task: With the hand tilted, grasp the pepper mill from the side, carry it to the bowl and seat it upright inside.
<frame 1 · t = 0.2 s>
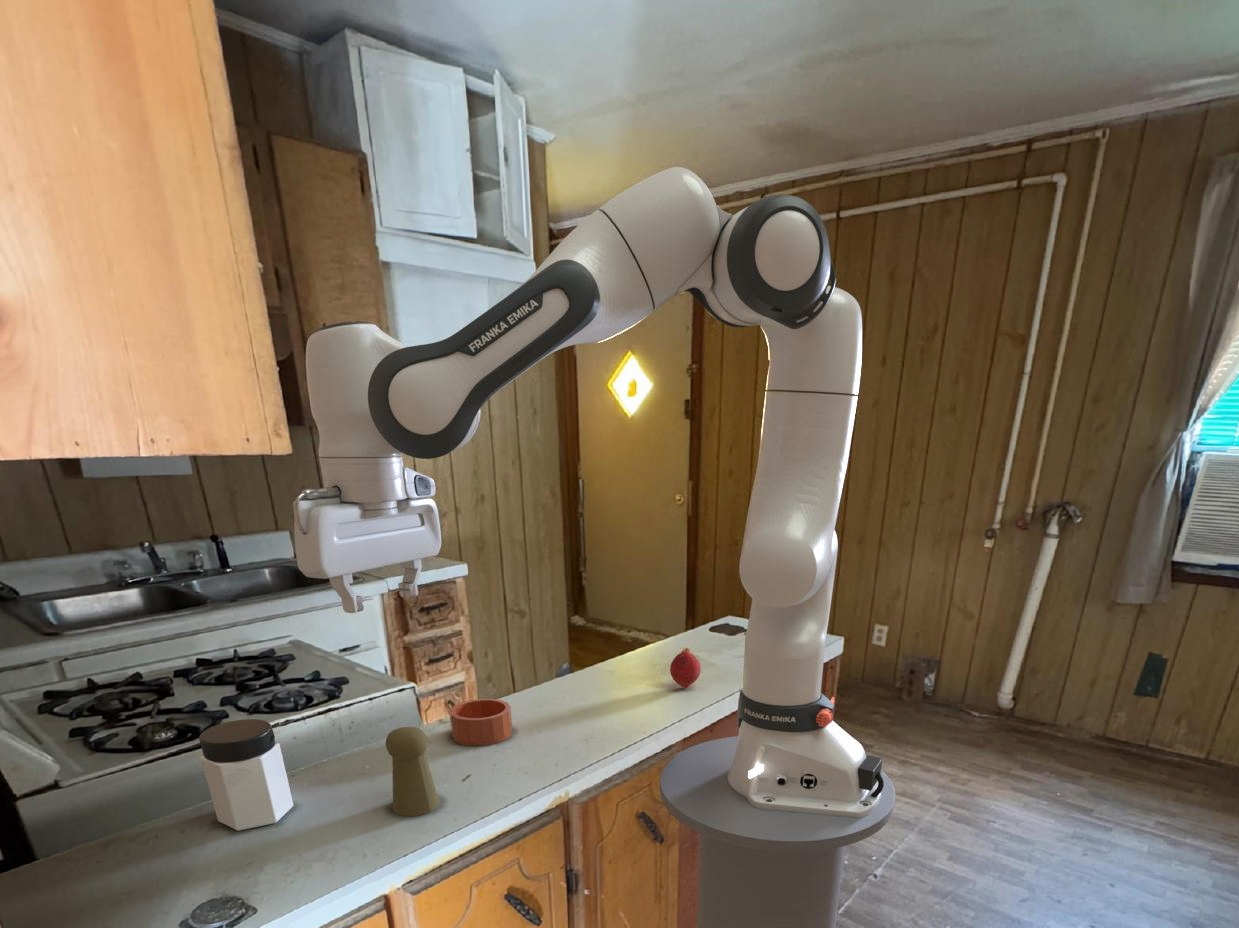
hand: (382, 604, 90), 27 cm above the worktop, tool pointing down, fingers open, 8 cm apart
pomegranate: (685, 688, 143), on the worktop
jar: (257, 815, 98), on the worktop
bowl: (482, 734, 122), on the worktop
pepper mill: (416, 806, 100), on the worktop
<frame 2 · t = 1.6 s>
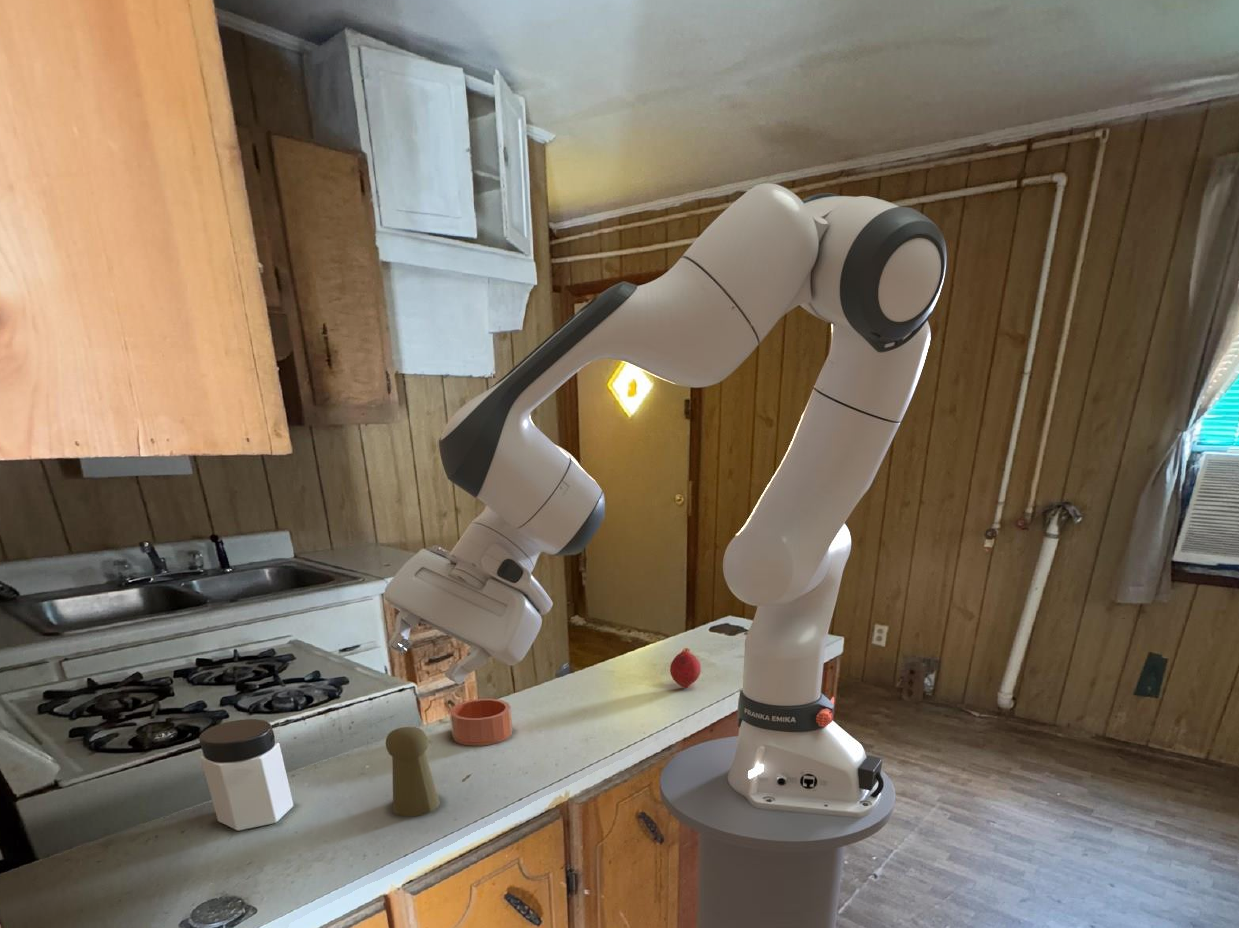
hand: (423, 664, 85), 22 cm above the worktop, tool tilted 45°, fingers open, 8 cm apart
nothing on the worktop moved.
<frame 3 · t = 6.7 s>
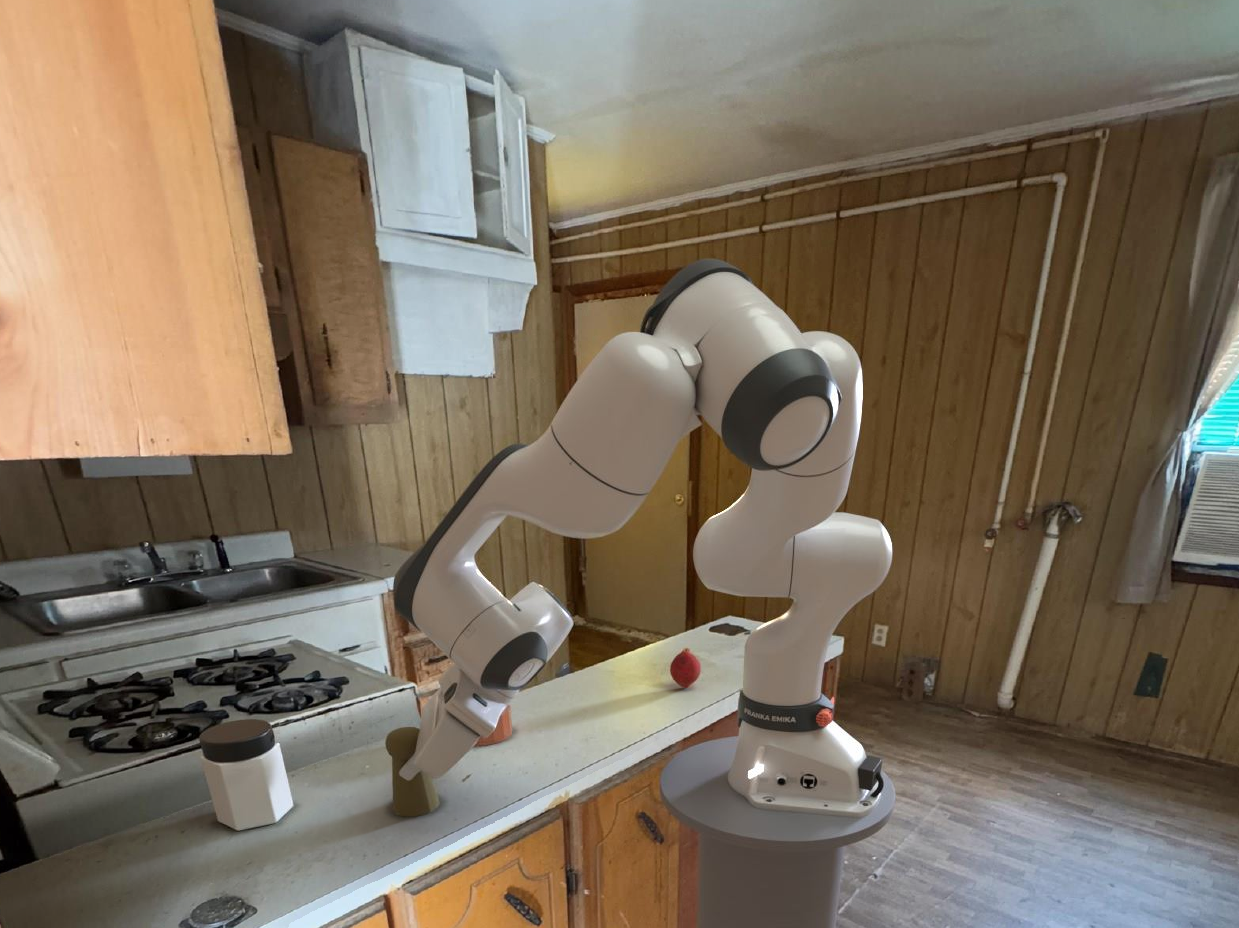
hand: (405, 766, 97), 6 cm above the worktop, tool tilted 45°, fingers closed on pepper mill, 4 cm apart
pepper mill: (416, 806, 100), on the worktop, touching gripper
everything else where it was.
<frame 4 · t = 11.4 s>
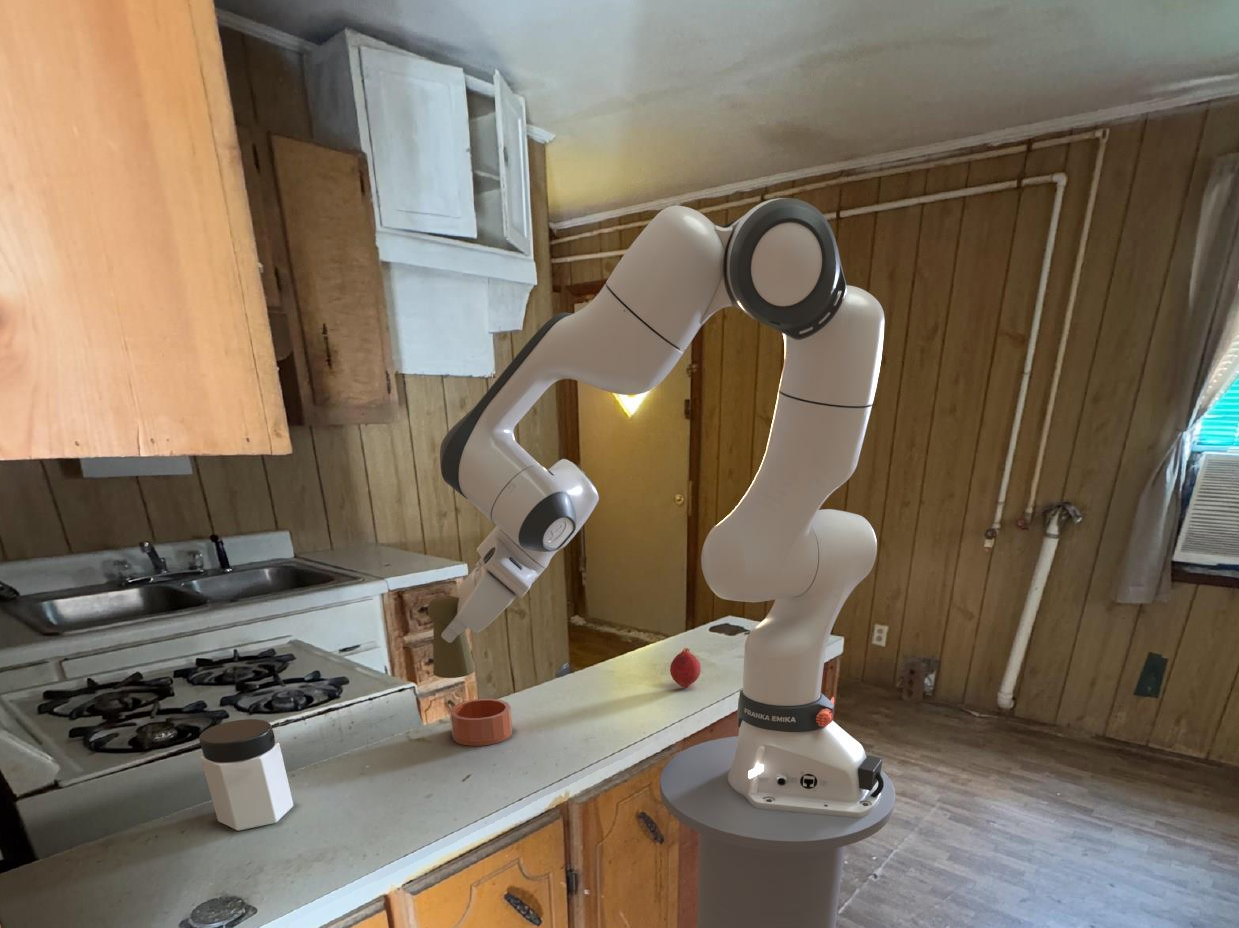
hand: (445, 634, 107), 19 cm above the worktop, tool tilted 45°, fingers closed on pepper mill, 4 cm apart
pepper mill: (454, 672, 109), point 13 cm above the worktop, touching gripper
everything else where it was.
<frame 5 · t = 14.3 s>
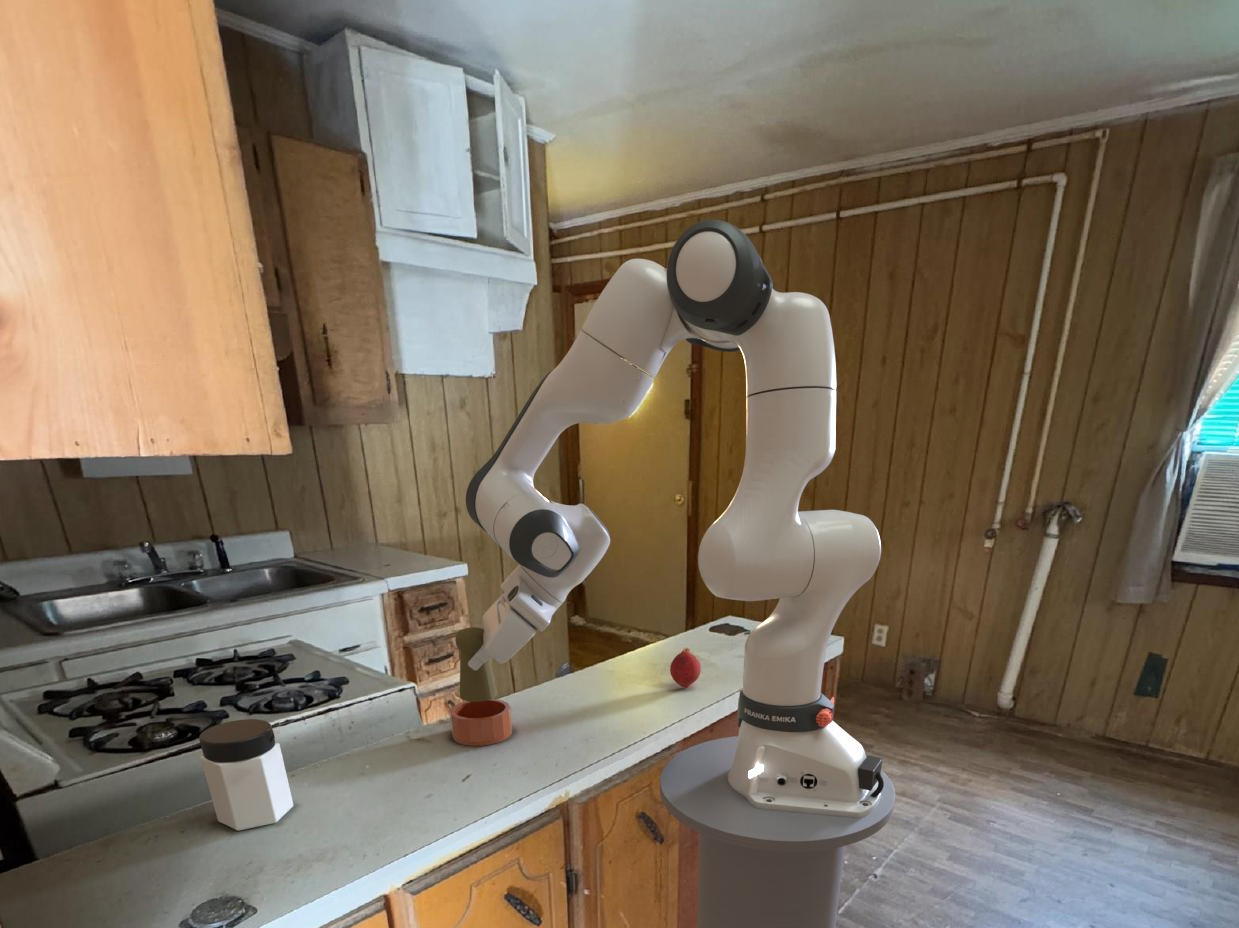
hand: (471, 661, 117), 12 cm above the worktop, tool tilted 45°, fingers closed on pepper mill, 4 cm apart
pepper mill: (478, 696, 120), point 7 cm above the worktop, touching gripper
everything else where it was.
when the fingers open (6 cm above the worktop, at t = 16.4 s): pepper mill stays where it is, resting on bowl.
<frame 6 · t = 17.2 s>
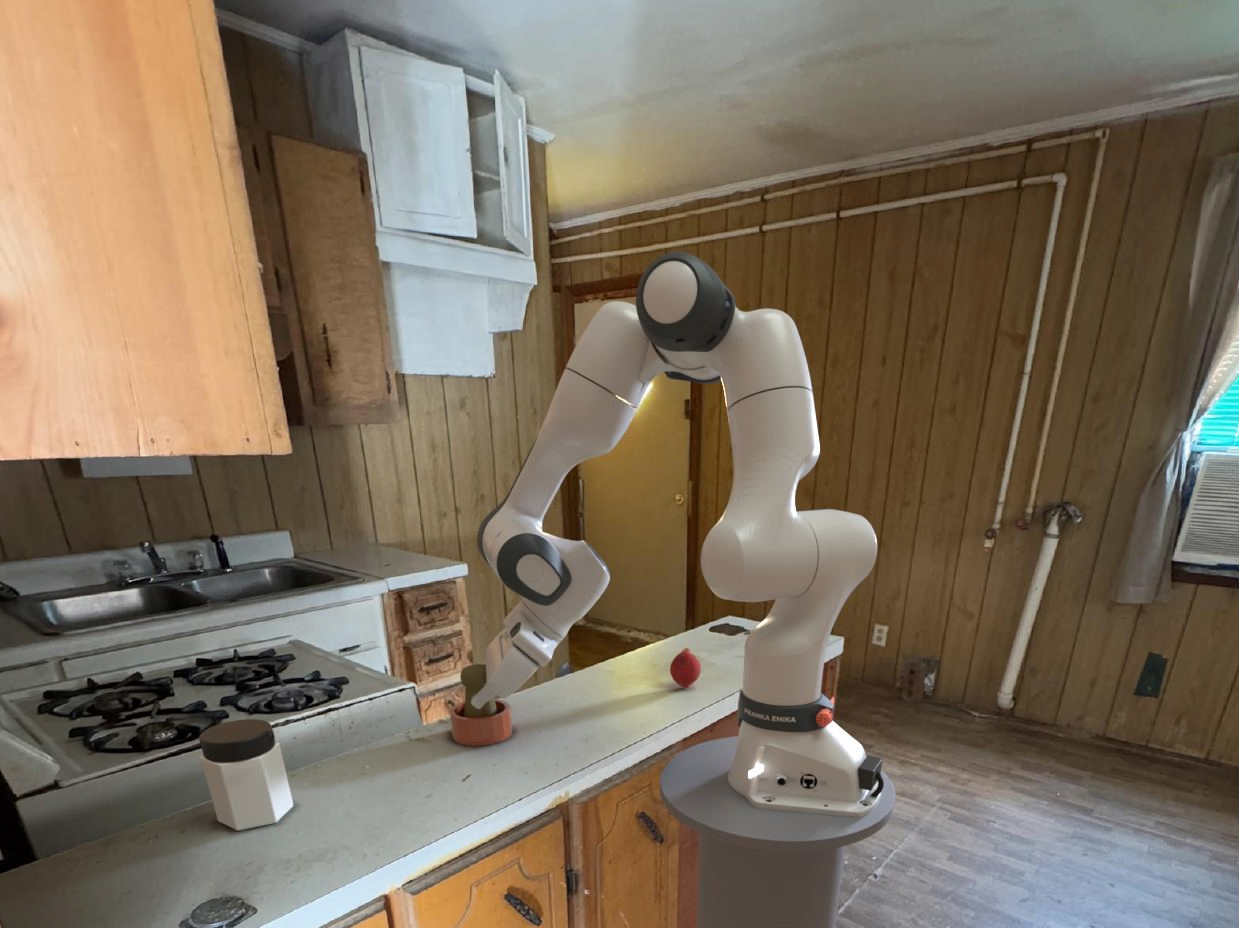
hand: (474, 695, 119), 7 cm above the worktop, tool tilted 45°, fingers open, 8 cm apart
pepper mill: (482, 730, 122), resting on bowl
everything else where it was.
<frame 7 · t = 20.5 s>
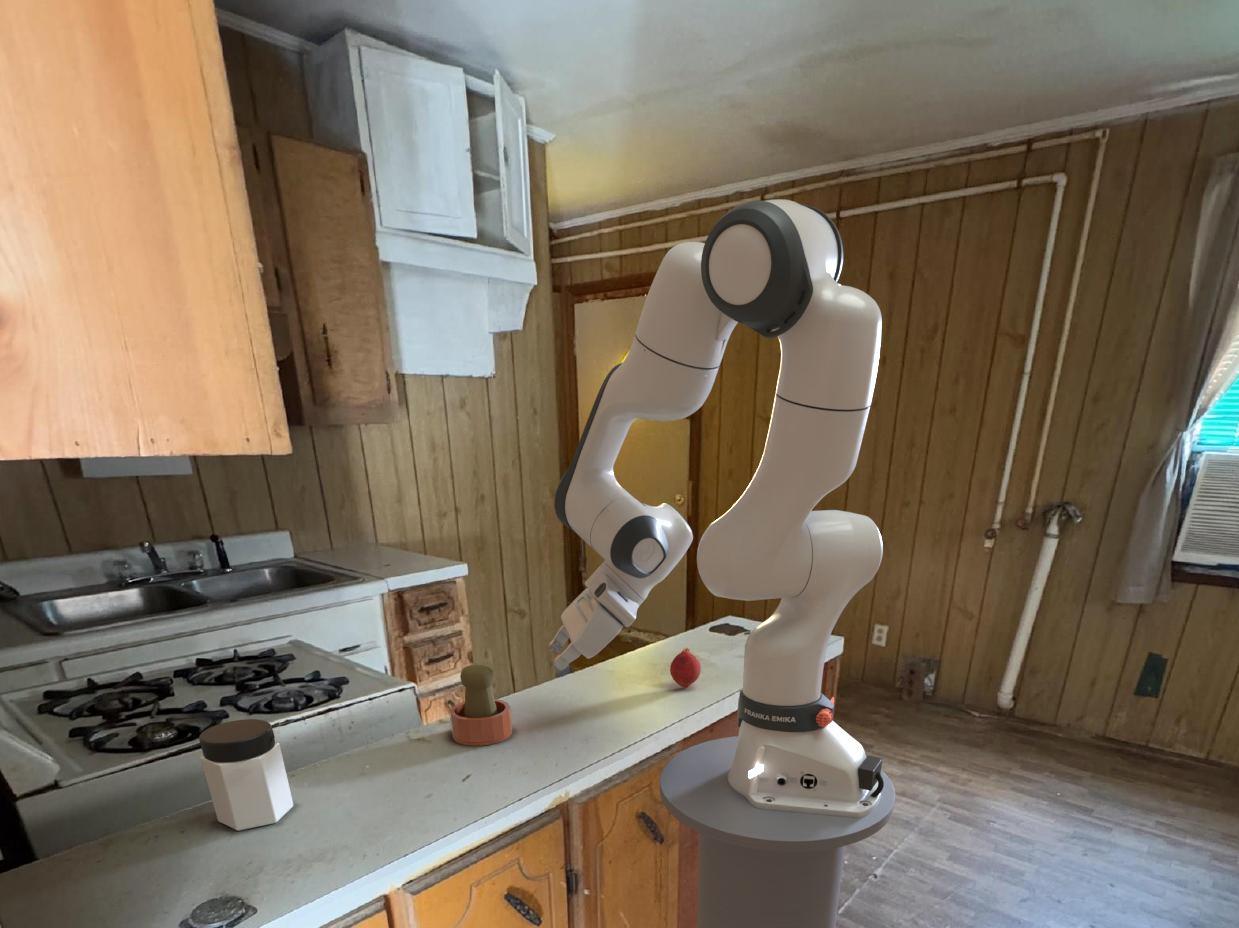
hand: (553, 658, 119), 12 cm above the worktop, tool tilted 45°, fingers open, 8 cm apart
nothing on the worktop moved.
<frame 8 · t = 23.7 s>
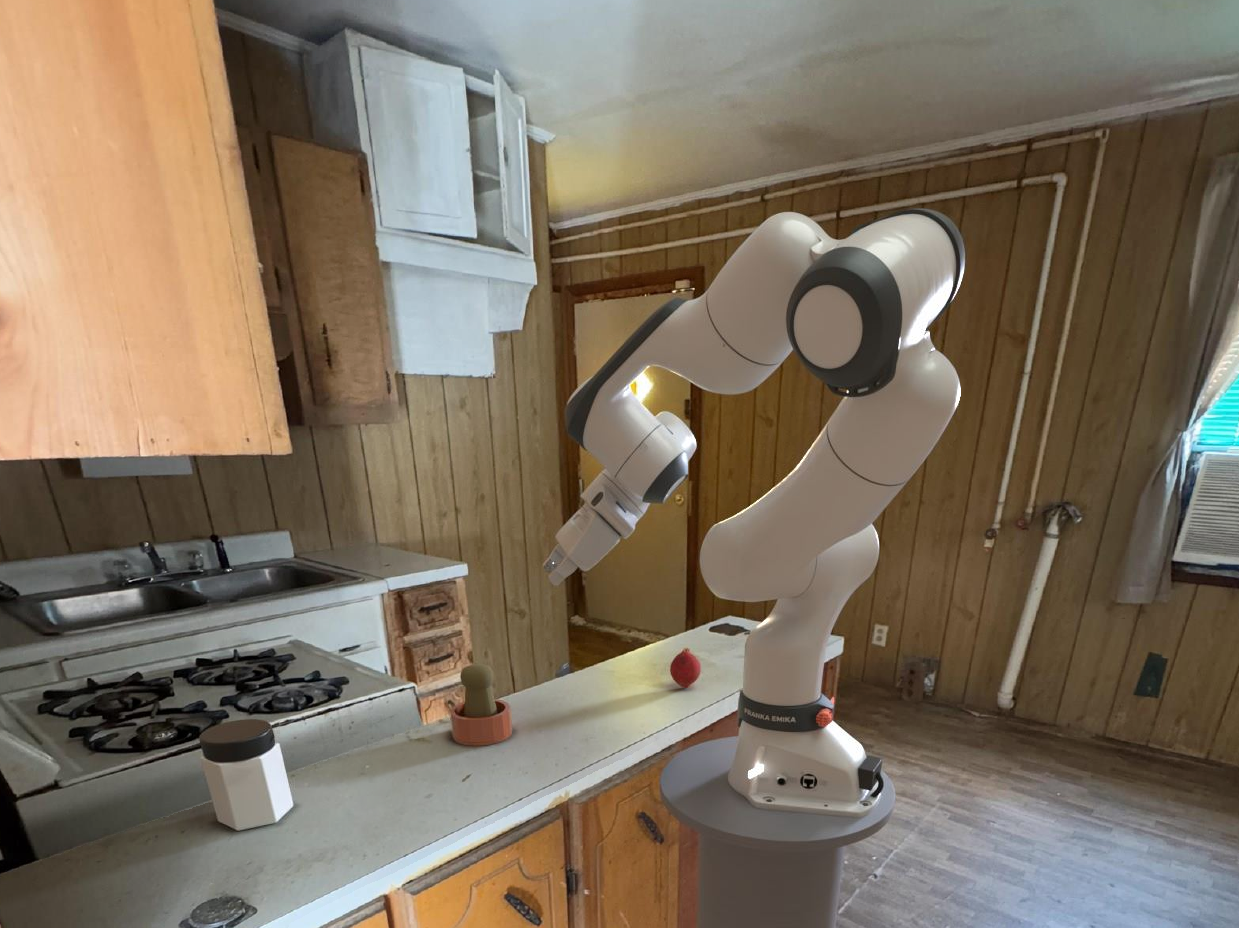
hand: (548, 576, 114), 25 cm above the worktop, tool tilted 45°, fingers open, 8 cm apart
nothing on the worktop moved.
at the end: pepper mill 0.4 cm off-centre in the bowl, point 0.4 cm above the bowl's base; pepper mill tilted 0°; the gripper is holding nothing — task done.
